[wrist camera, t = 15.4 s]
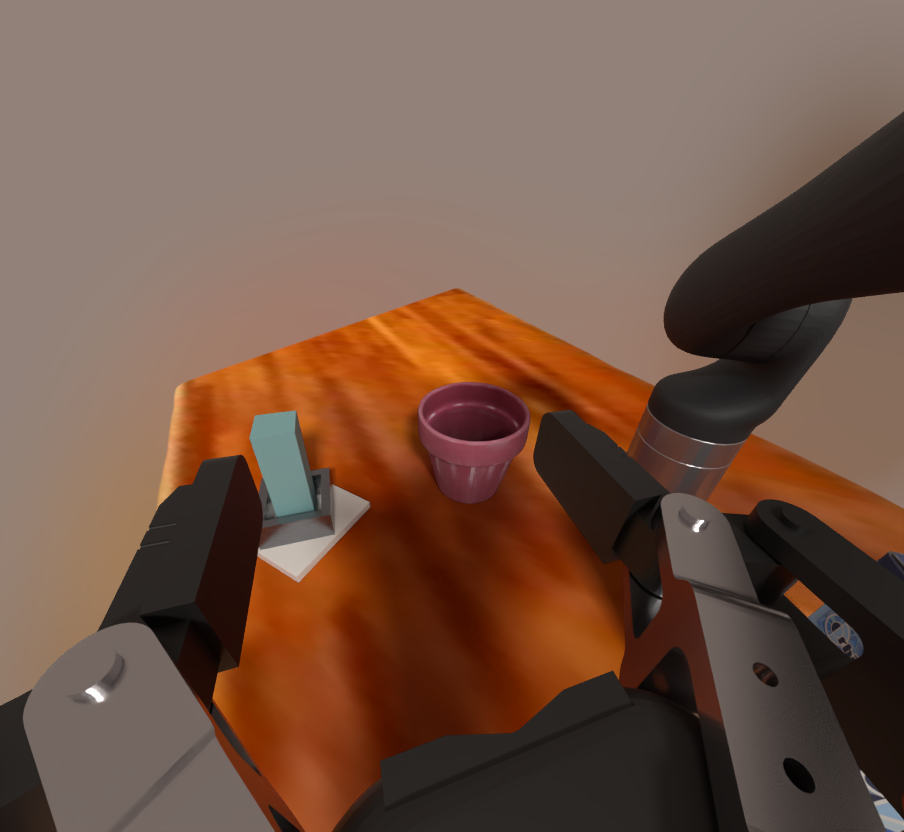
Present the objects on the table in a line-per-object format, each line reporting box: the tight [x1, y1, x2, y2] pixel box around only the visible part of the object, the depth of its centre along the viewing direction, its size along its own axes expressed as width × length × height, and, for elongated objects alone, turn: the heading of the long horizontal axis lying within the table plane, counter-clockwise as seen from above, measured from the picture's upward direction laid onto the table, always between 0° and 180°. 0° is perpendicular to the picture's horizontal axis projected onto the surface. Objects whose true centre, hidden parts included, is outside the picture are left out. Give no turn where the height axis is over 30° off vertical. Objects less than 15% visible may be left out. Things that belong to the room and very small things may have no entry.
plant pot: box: [418, 382, 530, 504], centre depth 48 cm, size 14×14×13 cm
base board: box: [257, 484, 370, 583], centre depth 44 cm, size 12×12×1 cm
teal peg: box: [250, 411, 318, 518], centre depth 39 cm, size 4×4×14 cm
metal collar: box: [259, 468, 335, 550], centre depth 42 cm, size 8×8×4 cm
